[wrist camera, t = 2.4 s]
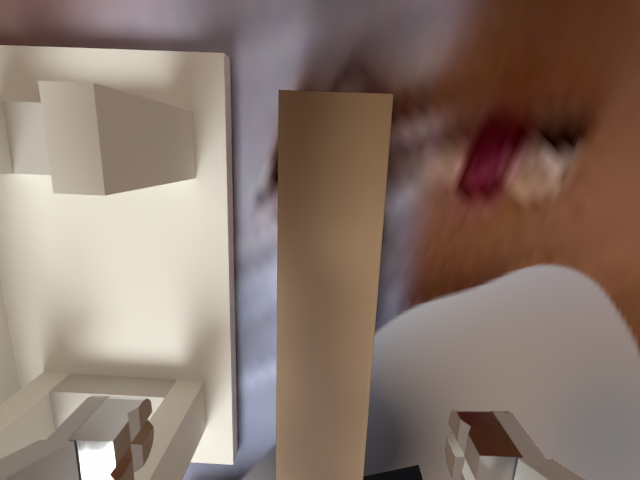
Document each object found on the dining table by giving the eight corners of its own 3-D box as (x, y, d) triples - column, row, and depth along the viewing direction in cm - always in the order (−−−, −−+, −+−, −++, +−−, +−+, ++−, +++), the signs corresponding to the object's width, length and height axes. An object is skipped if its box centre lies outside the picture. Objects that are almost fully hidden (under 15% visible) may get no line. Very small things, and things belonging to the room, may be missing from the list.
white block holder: (230, 58, 17) (141, -24, 9) (237, 450, 22) (186, 615, 14) (-54, 48, 17) (-380, -40, 9) (21, 438, 22) (-147, 592, 14)
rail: (375, 110, 17) (393, 93, 12) (354, 425, 22) (361, 505, 17) (293, 107, 17) (278, 89, 12) (287, 422, 22) (275, 500, 17)
